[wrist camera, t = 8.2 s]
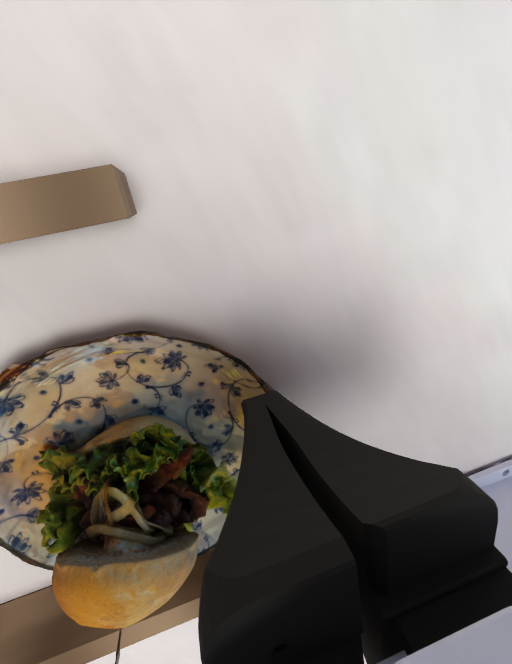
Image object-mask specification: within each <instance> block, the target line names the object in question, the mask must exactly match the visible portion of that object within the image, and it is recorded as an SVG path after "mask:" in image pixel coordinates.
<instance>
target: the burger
mask: <svg viewBox="0 0 512 664" xmlns="http://www.w3.org/2000/svg"><path fill="white" fill-rule="evenodd" d="M271 391H274V390H273V388H272V387H271V386H269V385H268V384H267V383H266V382H264V381H263V380H262V379H261V378H259V377H258V376H257V375H256V374H255V373H254V372H253V371H252V369H251V368H250V367H249V366H248V365H247V364H246V363H244V362H243V361H242V360H240V359H238V358H236V357H234V356H233V355H231V354H229V353H227V352H225V351H223V350H220V349H218V348H216V347H214V346H212V345H209V344H205V343H201V342H196V341H191V340H186V339H181V338H177V337H173V336H168V335H164V334H160V333H156V332H147V331H135V332H129V333H124V334H120V335H115V336H112V337H108V338H103V339H99V340H95V341H90V342H86V343H81V344H77V345H73V346H65V347H59V348H56V349H52V350H49V351H46V352H45V353H44V354H43V355H41V356H40V357H38V358H35V359H33V360H30V361H28V362H25V363H23V364H21V365H18V364H12V365H11V366H9V367H8V368H7V369H6V370H5V371H3V372H2V373H1V374H0V546H2V547H4V548H5V549H7V550H8V551H10V552H11V553H12V554H13V555H15V556H16V557H19V558H20V559H21V560H22V561H24V562H26V563H28V564H31V565H34V566H38V567H42V568H43V569H47V570H53V576H52V586H53V592H54V595H55V597H56V600H57V604H58V605H60V607H61V609H62V610H63V611H64V612H65V613H66V614H67V615H68V616H69V617H70V618H72V619H73V620H74V621H75V622H77V623H78V624H79V625H82V626H89V627H95V628H106V629H120V631H119V639H118V644H117V651H116V662H115V664H118V661H119V656H120V641H121V636H122V629H123V628H126V627H127V626H130V625H133V624H135V623H137V622H138V621H140V620H142V619H143V618H145V617H147V616H148V615H150V614H151V613H153V612H154V611H155V610H157V609H158V608H160V607H161V606H162V605H164V604H165V603H166V602H167V601H169V599H170V598H171V597H173V595H174V594H175V593H176V592H177V591H178V589H179V588H180V587H181V586H182V584H183V583H184V581H185V580H186V578H187V577H188V575H189V574H190V572H191V570H192V568H193V566H194V564H195V561H196V558H197V557H199V556H201V555H204V554H206V553H207V552H209V551H210V550H212V549H213V548H214V547H215V544H216V542H217V540H218V538H219V535H220V533H221V530H222V527H223V525H224V522H225V519H226V517H227V514H228V511H229V508H230V505H231V502H232V499H233V495H234V491H235V487H236V484H237V480H238V475H239V470H240V465H241V459H242V450H243V441H244V414H243V410H242V406H241V403H242V401H243V400H245V399H248V398H252V397H255V396H258V395H261V394H264V393H267V392H271Z"/></svg>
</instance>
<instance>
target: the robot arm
mask: <svg viewBox="0 0 512 664" xmlns="http://www.w3.org/2000/svg"><path fill="white" fill-rule="evenodd" d="M241 406H242V410H243V414H244V441H243V450H242V459H241V465H240V470H239V475H238V480H237V484H236V487H235V491H234V495H233V499H232V502H231V505H230V508H229V511H228V514H227V517H226V519H225V522H224V525H223V527H222V530H221V533H220V535H219V538H218V540H217V542H216V544H215V547H214V549H213V551H212V553H211V555H210V558H209V560H208V562H207V564H206V566H205V568H204V573H203V579H202V586H201V594H200V603H199V623H198V630H199V643H200V654H201V661H202V664H364V659H363V654H364V657H365V659H366V662H367V664H512V459H510V460H508V461H505V462H503V463H500V464H498V465H495V466H493V467H490V468H488V469H485V470H483V471H480V472H478V473H475V474H472V475H470V476H466V475H465V474H463V473H462V472H461V471H459V470H458V469H456V468H451V467H446V466H441V465H436V464H432V463H427V462H422V461H418V460H414V459H410V458H407V457H403V456H399V455H396V454H393V453H390V452H386V451H383V450H381V449H378V448H375V447H372V446H370V445H367V444H364V443H362V442H359V441H357V440H355V439H352V438H350V437H348V436H346V435H344V434H342V433H340V432H338V431H336V430H334V429H332V428H330V427H329V426H327V425H325V424H323V423H322V422H320V421H318V420H317V419H315V418H313V417H312V416H310V415H309V414H307V413H306V412H304V411H303V410H301V409H300V408H298V407H297V406H296V405H294V404H293V403H291V402H290V401H289V400H287V399H286V398H285V397H284V396H282V395H281V394H280V393H279V392H277V391H275V390H274V391H271V392H267V393H264V394H261V395H258V396H255V397H252V398H248V399H245V400H243V401H242V403H241Z"/></svg>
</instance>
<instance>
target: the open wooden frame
mask: <svg viewBox="0 0 512 664" xmlns="http://www.w3.org/2000/svg"><path fill="white" fill-rule="evenodd" d="M135 214H137V213H136V210H135V206H134V203H133V200H132V197H131V193H130V190H129V187H128V184H127V181H126V177H125V174H124V173H123V172H122V171H120V170H119V169H117V168H116V167H115V166H113V165H112V164H110V165H105V166H99V167H93V168H88V169H82V170H76V171H70V172H65V173H59V174H53V175H47V176H42V177H36V178H30V179H25V180H19V181H13V182H7V183H2V184H0V244H4V243H9V242H14V241H19V240H24V239H29V238H33V237H38V236H43V235H48V234H53V233H58V232H63V231H68V230H73V229H78V228H83V227H88V226H93V225H98V224H103V223H107V222H112V221H117V220H122V219H127V218H130V217H132V216H133V215H135ZM213 549H214V548H213ZM213 549H212V550H210V551H209V552H207V553H206V554H204V555H201V556H199V557H197V558H196V561H195V564H194V566H193V568H192V570H191V572H190V574H189V575H188V577H187V578H186V580H185V581H184V583H183V584H182V586H181V587H180V588H179V589H178V591H177V592H176V593H175V594H174V595H173V597H171V598H170V599H169V601H167V602H166V603H165V604H164V605H162V606H161V607H160V608H158V609H157V610H155V611H154V612H153V613H151V614H150V615H148V616H147V617H145V618H143V619H142V620H140V621H138V622H137V623H135V624H133V625H130V626H127V627H126V628H123V629H122V636H121V641H120V649H122V648H124V647H127V646H129V645H132V644H134V643H136V642H139V641H141V640H144V639H146V638H148V637H151V636H153V635H156V634H158V633H160V632H163V631H165V630H168V629H170V628H172V627H175V626H177V625H180V624H182V623H184V622H187V621H189V620H192V619H194V618H196V617H199V603H200V594H201V586H202V579H203V573H204V568H205V566H206V564H207V562H208V560H209V558H210V555H211V553H212V551H213ZM119 631H120V629H106V628H95V627H89V626H82V625H79V624H78V623H77V622H75V621H74V620H73V619H72V618H70V617H69V616H68V615H67V614H66V613H65V612H64V611H63V610H62V609H61V607H60V605H58V604H57V600H56V597H55V595H54V592H53V586H50V587H48V588H45V589H42V590H39V591H37V592H34V593H31V594H29V595H26V596H23V597H21V598H18V599H15V600H13V601H10V602H7V603H5V604H2V605H0V664H86V663H88V662H91V661H93V660H96V659H98V658H100V657H103V656H105V655H108V654H110V653H112V652H115V651H117V644H118V639H119Z"/></svg>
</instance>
